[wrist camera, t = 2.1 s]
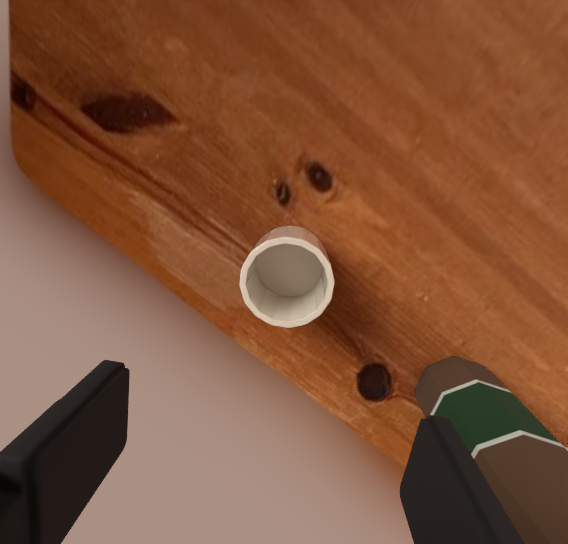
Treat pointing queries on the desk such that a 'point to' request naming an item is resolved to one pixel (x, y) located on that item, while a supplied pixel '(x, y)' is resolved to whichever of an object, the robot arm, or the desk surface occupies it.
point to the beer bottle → (503, 446)
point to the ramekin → (287, 277)
